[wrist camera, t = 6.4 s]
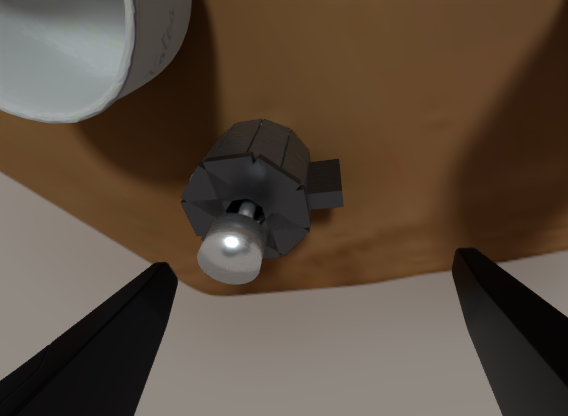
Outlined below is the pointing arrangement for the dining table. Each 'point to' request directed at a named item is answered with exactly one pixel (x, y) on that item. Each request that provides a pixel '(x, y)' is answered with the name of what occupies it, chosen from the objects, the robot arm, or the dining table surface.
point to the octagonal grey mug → (262, 183)
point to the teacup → (83, 53)
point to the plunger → (234, 246)
